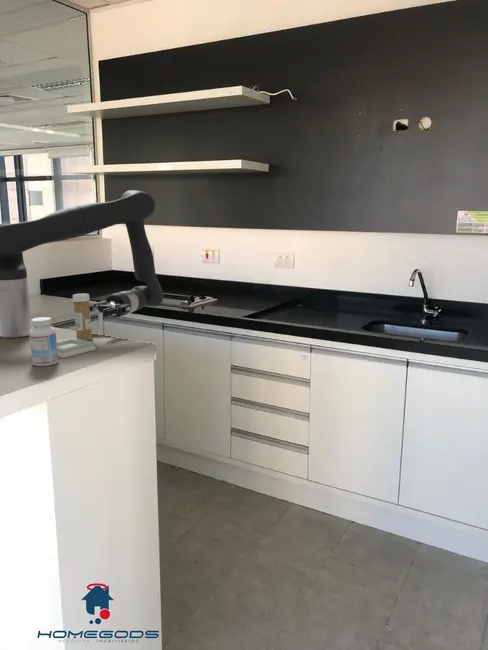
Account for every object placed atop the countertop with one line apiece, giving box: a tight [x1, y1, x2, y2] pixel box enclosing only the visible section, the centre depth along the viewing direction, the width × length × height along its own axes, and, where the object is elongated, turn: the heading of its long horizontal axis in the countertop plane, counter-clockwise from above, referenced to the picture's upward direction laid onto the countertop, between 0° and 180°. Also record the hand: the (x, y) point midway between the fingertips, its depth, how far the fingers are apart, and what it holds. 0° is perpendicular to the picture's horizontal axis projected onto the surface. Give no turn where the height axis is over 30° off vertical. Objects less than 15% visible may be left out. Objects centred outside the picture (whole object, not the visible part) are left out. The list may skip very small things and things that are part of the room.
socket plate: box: [56, 337, 97, 358], centre depth 147 cm, size 10×10×2 cm
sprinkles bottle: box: [72, 292, 93, 342], centre depth 157 cm, size 5×5×14 cm
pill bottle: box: [28, 316, 59, 367], centre depth 134 cm, size 6×6×11 cm
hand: (91, 312), depth 161 cm, fingers open, 8 cm apart
